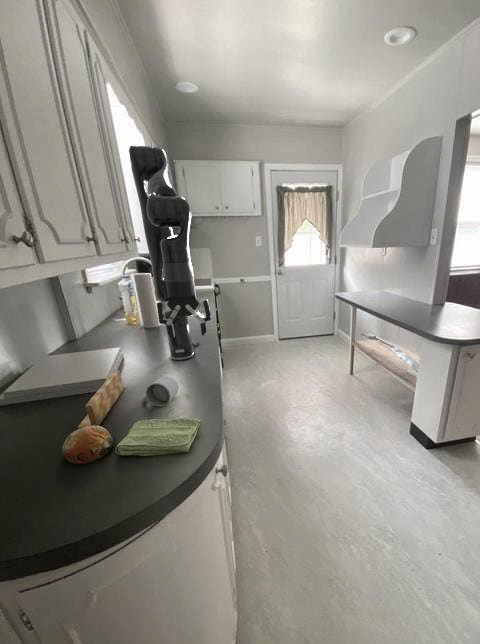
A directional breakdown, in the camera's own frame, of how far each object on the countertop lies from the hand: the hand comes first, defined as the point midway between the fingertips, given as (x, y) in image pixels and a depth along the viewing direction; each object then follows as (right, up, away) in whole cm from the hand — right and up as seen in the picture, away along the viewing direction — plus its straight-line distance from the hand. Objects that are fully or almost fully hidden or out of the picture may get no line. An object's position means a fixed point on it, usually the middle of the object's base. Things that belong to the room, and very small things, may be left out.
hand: (188, 335), depth 89 cm
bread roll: (-18, -30, -17) cm, 38 cm away
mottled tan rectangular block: (-27, -21, +3) cm, 35 cm away
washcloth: (-2, -28, -13) cm, 31 cm away
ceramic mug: (-11, -20, +6) cm, 24 cm away
